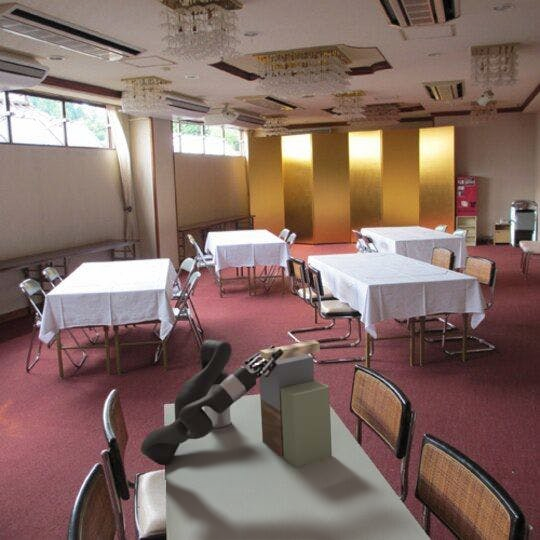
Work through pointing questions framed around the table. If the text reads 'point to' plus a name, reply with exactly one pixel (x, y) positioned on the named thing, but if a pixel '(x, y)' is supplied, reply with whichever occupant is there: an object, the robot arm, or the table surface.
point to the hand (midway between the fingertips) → (277, 349)
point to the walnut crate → (272, 427)
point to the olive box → (306, 422)
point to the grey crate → (286, 378)
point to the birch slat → (292, 350)
